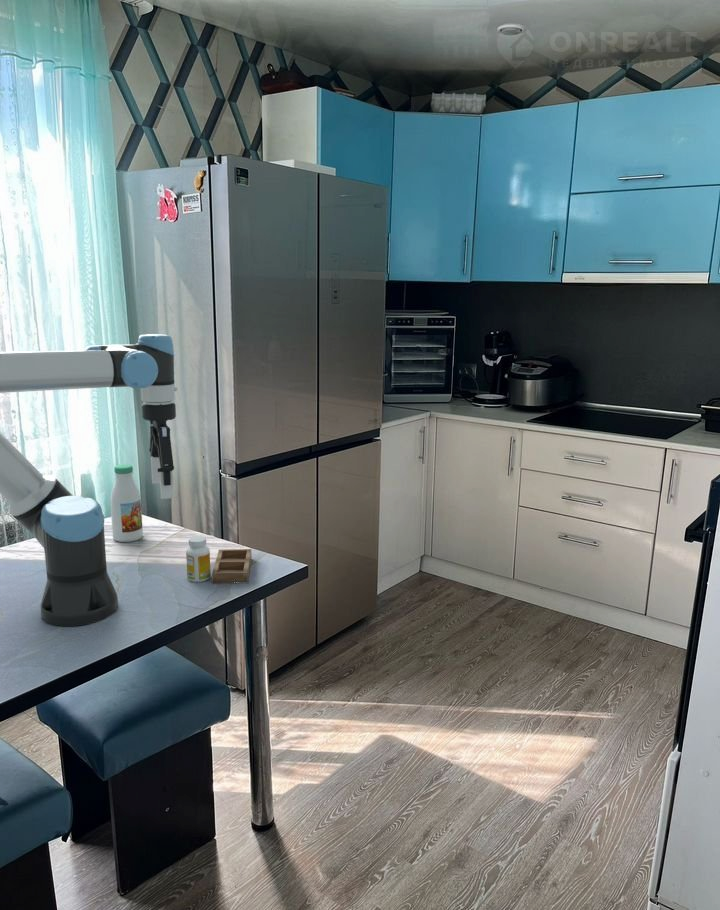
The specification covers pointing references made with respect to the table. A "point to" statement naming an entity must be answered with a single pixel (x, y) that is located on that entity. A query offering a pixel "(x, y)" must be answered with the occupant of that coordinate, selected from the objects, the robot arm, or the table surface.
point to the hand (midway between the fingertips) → (162, 490)
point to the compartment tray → (232, 566)
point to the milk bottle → (125, 506)
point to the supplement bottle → (198, 559)
